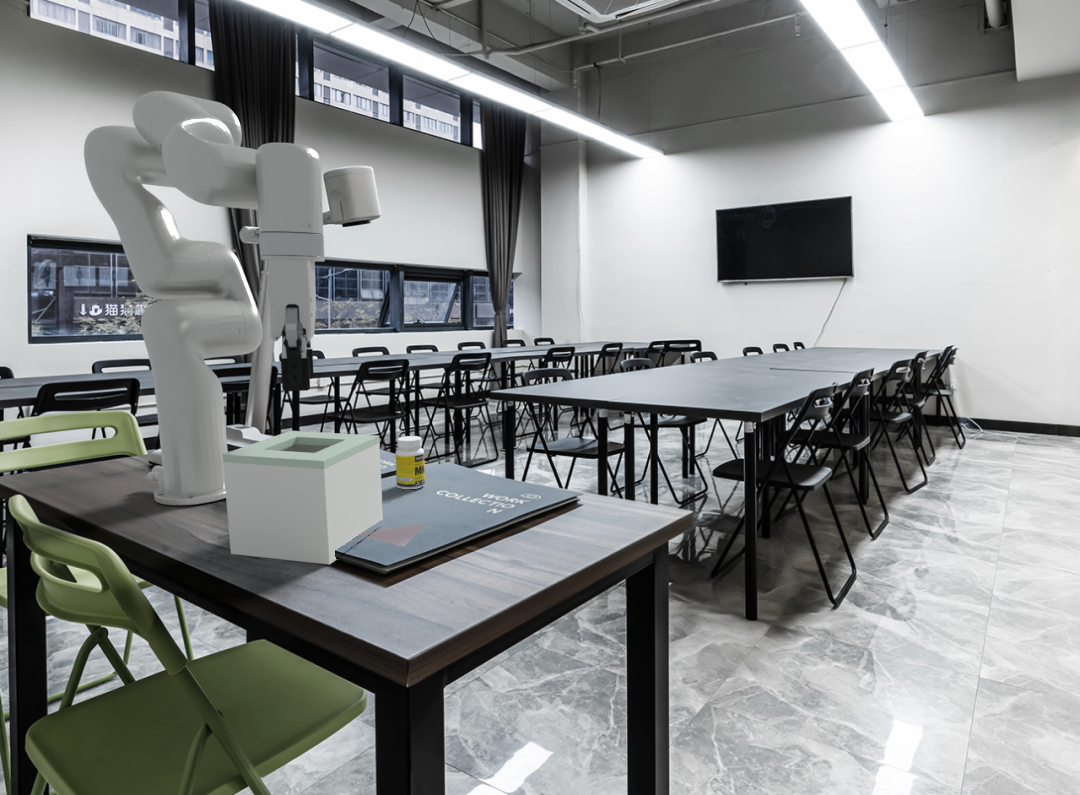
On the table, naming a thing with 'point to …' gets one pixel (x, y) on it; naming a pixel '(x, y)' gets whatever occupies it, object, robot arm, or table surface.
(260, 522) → the box
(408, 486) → the supplement bottle
